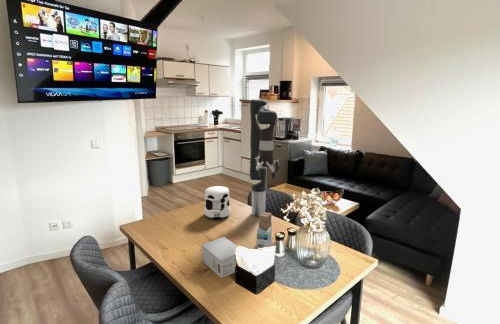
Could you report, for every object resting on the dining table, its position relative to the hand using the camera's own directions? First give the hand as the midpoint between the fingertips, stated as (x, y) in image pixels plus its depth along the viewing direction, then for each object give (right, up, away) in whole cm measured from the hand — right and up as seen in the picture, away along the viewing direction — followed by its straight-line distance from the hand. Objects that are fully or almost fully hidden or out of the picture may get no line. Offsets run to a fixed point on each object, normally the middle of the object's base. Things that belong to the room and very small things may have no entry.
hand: (265, 177), depth 159 cm
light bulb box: (-1, -36, -3) cm, 36 cm away
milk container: (-30, -27, +33) cm, 53 cm away
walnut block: (-1, -25, -6) cm, 26 cm away
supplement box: (-21, -40, -21) cm, 51 cm away
